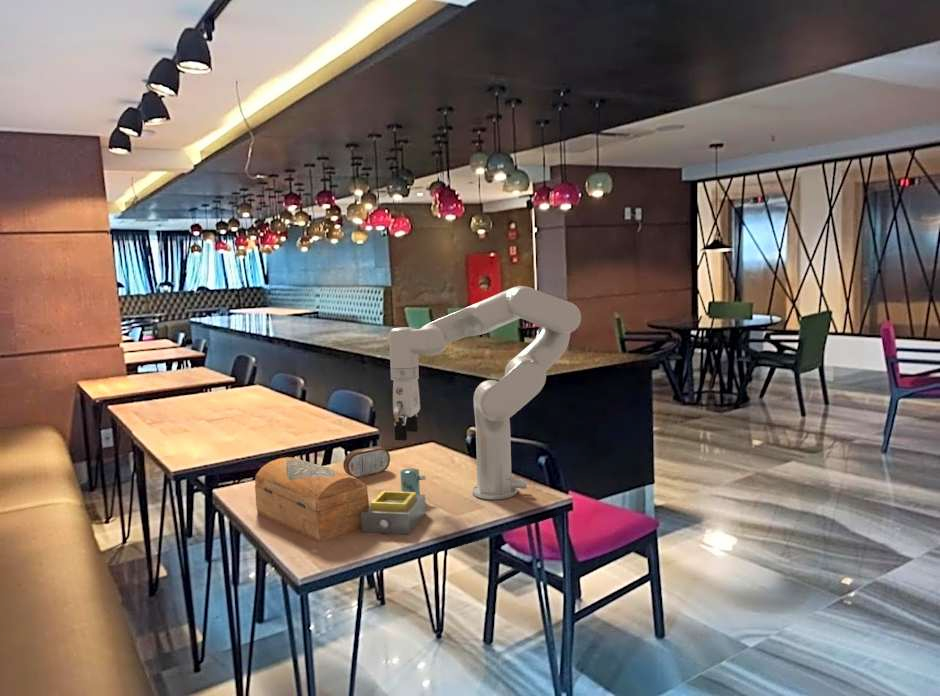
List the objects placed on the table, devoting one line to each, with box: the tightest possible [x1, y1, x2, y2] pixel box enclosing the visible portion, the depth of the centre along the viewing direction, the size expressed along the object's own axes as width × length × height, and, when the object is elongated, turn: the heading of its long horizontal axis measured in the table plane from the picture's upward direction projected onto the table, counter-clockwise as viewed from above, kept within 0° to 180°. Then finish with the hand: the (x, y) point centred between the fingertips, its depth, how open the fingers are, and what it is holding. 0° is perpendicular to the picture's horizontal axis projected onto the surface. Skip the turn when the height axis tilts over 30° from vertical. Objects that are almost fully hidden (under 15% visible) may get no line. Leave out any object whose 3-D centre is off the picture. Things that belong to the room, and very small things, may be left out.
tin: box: [343, 445, 391, 479], centre depth 212 cm, size 15×3×8 cm, turn 125°
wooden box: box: [254, 456, 370, 543], centre depth 177 cm, size 30×16×14 cm, turn 45°
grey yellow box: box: [361, 490, 426, 535], centre depth 171 cm, size 12×16×6 cm
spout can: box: [400, 468, 426, 495], centre depth 188 cm, size 7×5×8 cm
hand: (406, 435), depth 187 cm, fingers open, 9 cm apart
